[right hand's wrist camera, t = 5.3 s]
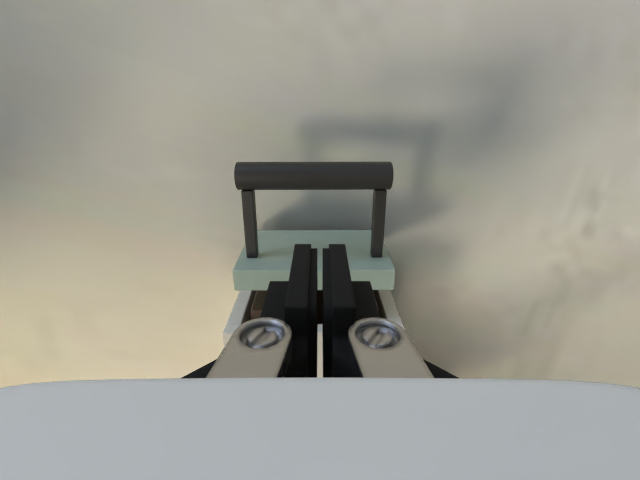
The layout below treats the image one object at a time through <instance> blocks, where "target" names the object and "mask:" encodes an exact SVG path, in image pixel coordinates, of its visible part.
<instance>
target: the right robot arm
mask: <svg viewBox="0 0 640 480" xmlns="http://www.w3.org/2000/svg"><path fill="white" fill-rule="evenodd" d="M317 337H318V275H317V248H311V244H295V246H294V252H293V258H292V264H291V270H290V276H289V281H270V283H269V286H268V290H267V293H266V297H265V301H264V304H263V308H262V312H261V315H260V318H256V319H252V320H249V321H247V322H245V323H243V324H241V325H240V326H239V327H238V328H237V329H236V330H235V331H234V333H233V334H232V336H231V337H230V339H229V341H228V342H227V344H226V346H225V347H224V349H223V351H222V352H221V354H220V355H219V357H218V359H216V360H214V361H212V362H211V363H209V364H207V365H205V366H203V367H201V368H199V369H197V370H195V371H194V372H192V373H190V374H188V375H186V376H184V377H182V378H180V379H113V380H82V381H57V382H44V383H32V384H24V385H17V386H10V387H4V388H0V480H640V388H635V387H630V386H623V385H616V384H607V383H596V382H582V381H560V380H524V379H460V378H458V377H456V376H454V375H452V374H450V373H448V372H446V371H445V370H443V369H441V368H439V367H437V366H435V365H433V364H431V363H429V362H428V361H426V360H424V359H422V357H421V355H420V354H419V352H418V351H417V349H416V347H415V346H414V344H413V342H412V341H411V339H410V337H409V336H408V334H407V333H406V331H405V330H404V329H403V328H402V327H401V326H400V325H399V324H397V323H395V322H393V321H391V320H388V319H384V318H380V315H379V312H378V308H377V304H376V301H375V297H374V293H373V290H372V286H371V283H370V281H351V276H350V270H349V264H348V258H347V252H346V246H345V244H329V248H323V275H322V337H323V378H317Z"/></svg>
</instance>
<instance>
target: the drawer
mask: <svg viewBox="0 0 640 480" xmlns="http://www.w3.org/2000/svg"><path fill="white" fill-rule="evenodd" d="M234 177H235V185H236V188H237V189H238V190H242V191H241V193H242V206H243V218H244V231H245V243H246V244H245V246H244V248H243V250H242V252H241V254H240V257H239V259H238V261H237V263H236V265H235V267H234V269H233V279H234V289H235V290H257V292H256V295H255V298H254V301H253V305H252V308H251V320H252V319H256V318H260V315H261V312H262V308H263V304H264V301H265V297H266V293H267V290H268V286H269V283H270V281H289V276H290V270H291V264H292V258H293V252H294V246H295V244H311V248H317V275H318V324H322V275H323V248H329V244H345V246H346V252H347V258H348V264H349V270H350V276H351V281H370V283H371V286H372V290H394V285H395V273H396V270H395V267H394V265H393V263H392V261H391V259H390V256H389V254H388V252H387V250H386V248H385V245H384V243H383V239H384V224H385V209H386V194H387V191H386V189H391V187H392V183H393V166H392V163H391V162H237V163H236V165H235V170H234ZM363 189H374V193H373V211H372V230H257V220H256V205H255V190H363ZM373 293H374V292H373ZM374 297H375V296H374ZM375 301H376V299H375ZM376 304H377V303H376ZM377 308H378V306H377ZM378 312H379V310H378Z"/></svg>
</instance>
